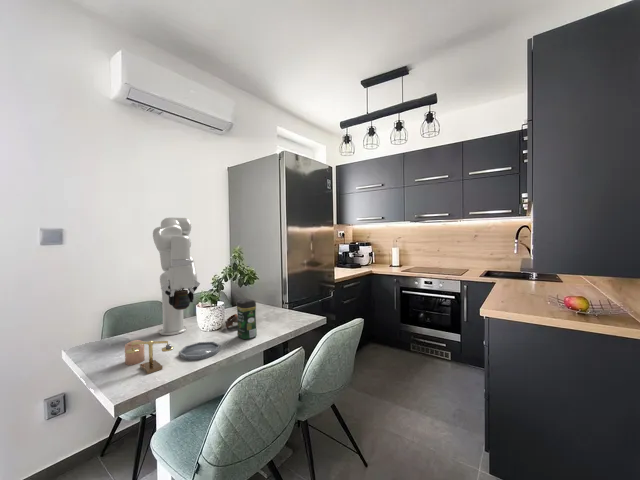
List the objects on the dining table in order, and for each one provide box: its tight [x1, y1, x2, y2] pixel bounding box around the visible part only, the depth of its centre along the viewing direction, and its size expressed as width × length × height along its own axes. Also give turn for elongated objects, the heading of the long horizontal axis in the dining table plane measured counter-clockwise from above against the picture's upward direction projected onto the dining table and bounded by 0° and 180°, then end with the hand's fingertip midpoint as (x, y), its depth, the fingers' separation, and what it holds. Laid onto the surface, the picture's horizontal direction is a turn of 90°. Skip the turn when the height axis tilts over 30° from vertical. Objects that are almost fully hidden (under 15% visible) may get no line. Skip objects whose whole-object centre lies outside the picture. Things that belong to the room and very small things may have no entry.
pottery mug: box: [224, 313, 238, 329], centre depth 150 cm, size 12×10×8 cm
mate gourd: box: [173, 288, 191, 310], centre depth 123 cm, size 7×8×10 cm
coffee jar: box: [236, 297, 258, 340], centre depth 135 cm, size 10×8×19 cm
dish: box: [178, 341, 221, 361], centre depth 117 cm, size 15×15×2 cm
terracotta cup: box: [124, 339, 146, 366], centre depth 110 cm, size 6×6×8 cm
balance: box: [126, 340, 174, 375], centre depth 103 cm, size 8×16×11 cm, turn 138°
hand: (181, 303), depth 123 cm, fingers closed on mate gourd, 7 cm apart
